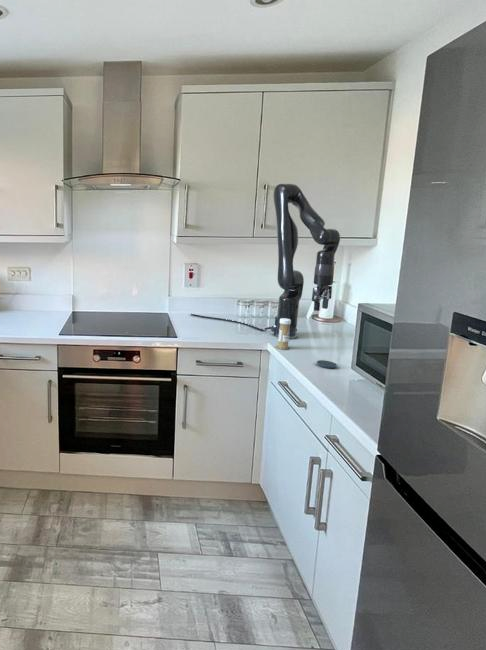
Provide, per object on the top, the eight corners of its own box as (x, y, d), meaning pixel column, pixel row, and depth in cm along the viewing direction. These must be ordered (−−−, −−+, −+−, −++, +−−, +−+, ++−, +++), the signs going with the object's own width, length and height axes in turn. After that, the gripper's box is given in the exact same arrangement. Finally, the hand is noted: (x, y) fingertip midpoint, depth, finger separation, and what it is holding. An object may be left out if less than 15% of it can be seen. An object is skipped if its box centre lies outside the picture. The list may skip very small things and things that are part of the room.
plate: (313, 365, 167) (313, 362, 167) (321, 361, 171) (321, 359, 171) (331, 370, 162) (331, 367, 161) (339, 366, 166) (339, 364, 166)
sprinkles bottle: (287, 350, 186) (290, 320, 184) (276, 348, 189) (279, 319, 187) (288, 347, 190) (291, 318, 188) (278, 345, 193) (281, 317, 190)
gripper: (322, 272, 194) (319, 306, 196) (307, 274, 185) (304, 310, 187) (339, 273, 188) (336, 309, 190) (325, 275, 179) (322, 312, 181)
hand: (320, 309), depth 189 cm, fingers open, 8 cm apart
